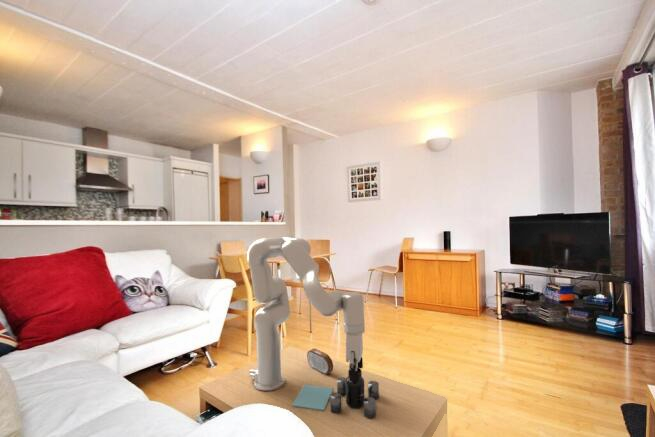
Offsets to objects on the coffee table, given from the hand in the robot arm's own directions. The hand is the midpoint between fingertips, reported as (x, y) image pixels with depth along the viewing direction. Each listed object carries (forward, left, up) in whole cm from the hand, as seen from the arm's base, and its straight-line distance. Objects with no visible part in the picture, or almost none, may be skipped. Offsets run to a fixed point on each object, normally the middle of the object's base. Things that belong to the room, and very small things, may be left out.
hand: (356, 374), depth 111 cm
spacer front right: (+5, -5, -11) cm, 13 cm away
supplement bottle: (-1, 0, -11) cm, 11 cm away
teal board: (-17, 0, -11) cm, 20 cm away
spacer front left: (-7, -5, -11) cm, 14 cm away
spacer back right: (+5, +6, -11) cm, 13 cm away
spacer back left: (-7, +6, -11) cm, 14 cm away
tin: (-20, +21, -11) cm, 31 cm away
